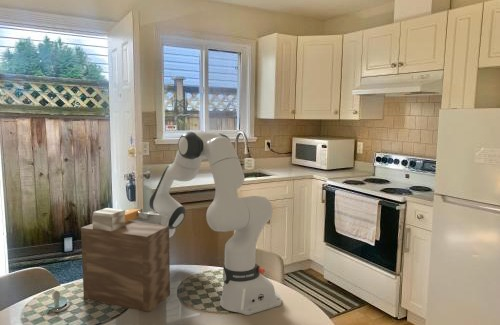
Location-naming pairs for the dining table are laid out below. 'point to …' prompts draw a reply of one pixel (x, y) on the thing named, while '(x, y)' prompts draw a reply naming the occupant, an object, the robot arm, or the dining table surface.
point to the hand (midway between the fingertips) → (133, 213)
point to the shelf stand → (125, 261)
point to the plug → (132, 214)
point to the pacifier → (56, 302)
